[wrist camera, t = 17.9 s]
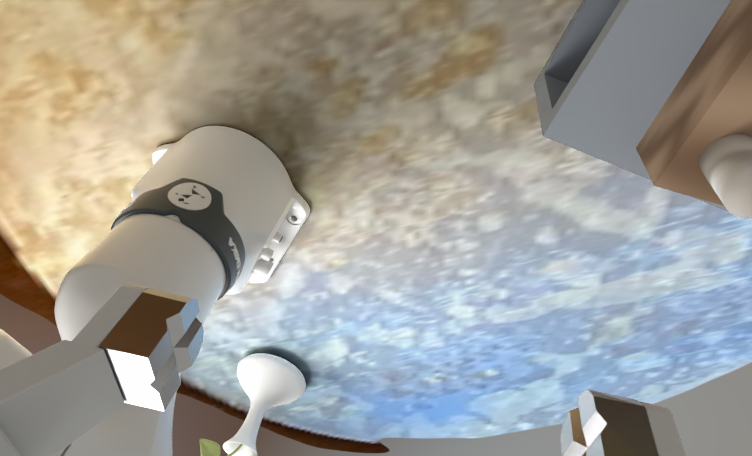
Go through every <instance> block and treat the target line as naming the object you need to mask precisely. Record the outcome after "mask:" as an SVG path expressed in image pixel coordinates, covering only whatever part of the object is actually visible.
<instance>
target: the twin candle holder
mask: <svg viewBox="0 0 752 456" xmlns="http://www.w3.org/2000/svg"><path fill="white" fill-rule="evenodd" d="M636 150H637V152H638V154H639V156H640V158H641V160H642V162H643V164H644V166H645V168H646V170H647V172H648V174H649V176H650V178H651V180H652V182H653V185H654V186H657V187H661V188H664V189H668V190H671V191H674V192H678V193H681V194H685V195H688V196H692V197H695V198H698V199H702V200H705V201H709V202H712V203H716V204H719V205H722V206H725V207H726V209H727V210H728V211H729V212H730V213H731V214H733V215H735V216H737V217H741V218H752V0H731V1H730V3H729V4H728V6H727V8H726V9H725V11H724V12H723V14H722V15H721V17H720V18H719V20H718V21H717V23H716V25H715V26H714V28H713V29H712V31H711V32H710V34H709V35H708V37H707V38H706V40H705V42H704V43H703V45H702V46H701V48H700V49H699V51H698V52H697V54H696V56H695V57H694V59H693V60H692V62H691V63H690V65H689V66H688V68H687V69H686V71H685V73H684V74H683V76H682V77H681V79H680V80H679V82H678V83H677V85H676V87H675V88H674V90H673V91H672V93H671V94H670V96H669V97H668V99H667V100H666V102H665V104H664V105H663V107H662V108H661V110H660V111H659V113H658V114H657V116H656V117H655V119H654V121H653V122H652V124H651V125H650V127H649V128H648V130H647V131H646V133H645V135H644V136H643V138H642V139H641V141H640V142H639V144H638V145H637V147H636Z"/></svg>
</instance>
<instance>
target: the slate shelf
mask: <svg viewBox="0 0 752 456" xmlns="http://www.w3.org/2000/svg"><path fill="white" fill-rule="evenodd" d="M730 1H731V0H583V1H582V3H581V4H580V6H579V8H578V10H577V11H576V13H575V15H574V17H573V18H572V20H571V22H570V24H569V25H568V27H567V29H566V30H565V32H564V34H563V36H562V37H561V39H560V41H559V43H558V44H557V46H556V48H555V49H554V51H553V53H552V55H551V56H550V58H549V60H548V62H547V63H546V65H545V67H544V69H543V70H542V72H541V74H540V75H539V77H538V79H537V81H536V82H535V84H534V87H535V93H536V99H537V105H538V110H539V116H540V122H541V128H542V133H543V136H545V137H547V138H550V139H552V140H555V141H557V142H559V143H562V144H564V145H567V146H569V147H572V148H574V149H577V150H579V151H581V152H584V153H586V154H589V155H591V156H594V157H596V158H599V159H601V160H603V161H606V162H608V163H611V164H613V165H616V166H618V167H620V168H623V169H625V170H628V171H630V172H633V173H635V174H638V175H640V176H642V177H645V178H647V179H650V180H651V178H650V176H649V174H648V172H647V170H646V168H645V166H644V164H643V162H642V160H641V158H640V156H639V154H638V152H637V150H636V147H637V145H638V144H639V142H640V141H641V139H642V138H643V136H644V135H645V133H646V131H647V130H648V128H649V127H650V125H651V124H652V122H653V121H654V119H655V117H656V116H657V114H658V113H659V111H660V110H661V108H662V107H663V105H664V104H665V102H666V100H667V99H668V97H669V96H670V94H671V93H672V91H673V90H674V88H675V87H676V85H677V83H678V82H679V80H680V79H681V77H682V76H683V74H684V73H685V71H686V69H687V68H688V66H689V65H690V63H691V62H692V60H693V59H694V57H695V56H696V54H697V52H698V51H699V49H700V48H701V46H702V45H703V43H704V42H705V40H706V38H707V37H708V35H709V34H710V32H711V31H712V29H713V28H714V26H715V25H716V23H717V21H718V20H719V18H720V17H721V15H722V14H723V12H724V11H725V9H726V8H727V6H728V4H729V3H730ZM691 197H692V196H691ZM694 198H695V197H694ZM696 199H698V198H696ZM699 200H701V201H704V202H706V203H708V204H711V205H713V206H716V207H718V208H721V209H723V210H725V211H728V210H727V209H726V207H725V206H722V205H719V204H716V203H712V202H709V201H705V200H702V199H699ZM728 212H729V211H728Z"/></svg>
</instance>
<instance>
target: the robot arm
mask: <svg viewBox="0 0 752 456" xmlns="http://www.w3.org/2000/svg"><path fill="white" fill-rule="evenodd" d="M152 161H153V166H152V168H151V169H150V170H149V171H148V172H147V173H146V174H145V176H144V177H143V178H142V179H141V180H140V181H139V182H138V184H137V185H136V186H135V187H134V188H133V190H132V192H131V196H132V197H133V202H131V203H129V204H128V205H127V206H126V207H125V208H124V210H123V211H122V212H121V214H120V215H119V217H118V218H117V219H116V220H115V221H114V223H113V225H112V227H111V231H110V232H109V233H108V234H107V235H106V236H105V237H104V238H103V239H102V240H101V241H100V242H99V243H98V244H97V245H96V246H95V247H94V248H93V249H91V250H90V251H89V252H88V253H87V254H86V255H85V256H84V257H83V258H82V259H81V260H80V261H79V262H78V263H77V264H76V265H75V266H74V267H73V268H72V269H71V270H70V271H69V272H68V273H67V274H66V276H65V277H64V279H63V281H62V283H61V285H60V288H59V291H58V294H57V297H56V302H55V319H56V323H57V327H58V330H59V333H60V336H61V340H62V341H61V342H59V343H57V344H55V345H53V346H51V347H48V348H46V349H44V350H42V351H40V352H38V353H36V354H32V353H31V352H29V351H28V350H27V349H26V348H24V347H23V346H22V345H21V344H19V343H18V342H17V341H16V340H14V339H13V338H12V337H11V336H9V335H8V334H7V333H6V332H4V331H3V330H2V329H0V456H173V454H172V425H173V412H174V405H175V398H176V392H177V389H178V388H179V386H180V384H181V381H180V374H181V372H182V371H184V370H185V369H187V368H189V367H191V366H192V364H193V363H194V361H195V359H196V357H197V356H198V353H199V350H200V347H201V345H202V342H203V326H202V324H203V323H204V321H205V319H206V317H207V316H208V314H209V312H210V311H211V309H212V307H213V305H214V304H215V302H216V301H217V300H219V299H220V298H222V297H223V296H224V295H233V294H238V293H241V292H242V291H243V289H244V287H245V286H246V284H247V283H265V282H266V281H267V280H268V279H269V278H270V276H271V275H272V273H273V272H274V270H275V268H276V267H277V265H278V264H279V262H280V260H281V259H282V257H283V256H284V254H285V252H286V251H287V249H288V248H289V246H290V244H291V243H292V241H293V240H294V238H295V236H296V235H297V233H298V232H299V230H300V228H301V227H302V225H303V223H304V222H305V220H306V219H307V217H308V215H309V214H310V207H309V205H308V204H307V202H306V201H305V200H304V199H303V198H302V196H301V195H300V194H299V193H298V192H297V191H296V190H295V188H294V187H293V185H292V182H291V180H290V177H289V175H288V173H287V171H286V169H285V167H284V166H283V164H282V163H281V161H280V160H279V159H278V157H277V156H276V155H275V154H274V153H273V152H272V151H271V150H270V149H269V148H268V147H267V146H266V145H264V144H263V143H262V142H260V141H259V140H257V139H256V138H254V137H252V136H251V135H249V134H247V133H245V132H242V131H240V130H237V129H234V128H230V127H224V126H205V127H201V128H198V129H195V130H193V131H191V132H189V133H188V134H186V135H185V136H184V137H183V138H182V139H181V140H179V141H178V142H176V143H172V144H166V145H162V146H159V147H158V148H156V150H155V151H154V152H153V154H152ZM294 216H296V217H297V218H295V217H294ZM578 403H579V408H576V409H574V410H571V411H569V413H568V415H567V416H566V418H565V420H564V423H563V427H562V431H561V452H562V456H686V454H685V451H684V448H683V445H682V442H681V439H680V436H679V433H678V430H677V427H676V424H675V421H674V418H673V414H672V413H671V412H670V411H669V409H668V408H666V407H662V406H658V405H653V404H649V403H644V402H639V401H637V400H634V399H630V398H625V397H620V396H616V395H611V394H607V393H602V392H597V391H593V390H586V391H583V392H582V394H581V395H580V396H579V398H578Z"/></svg>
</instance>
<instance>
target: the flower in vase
mask: <svg viewBox="0 0 752 456" xmlns="http://www.w3.org/2000/svg"><path fill="white" fill-rule="evenodd" d="M237 377H238V379H239V382H240V384H241V386H242V388H243V389H244V391H245V392H246V393H247V395H248V396H249V398H250V400H251V407H250V410H249V413H248V415H247V417H246V419H245V421H244V423H243V425H242V426H241V428H240V430H239V431H238V433H237V434H236V435H235V436H234V437H233V438H231V439H230V440H228V441H227V442H225V443H224V445H223V448H224V450H225V451H226V452H227V453H228V454H229V455H227V456H257V451H256V437H257V433H258V429H259V426H260V423H261V420H262V418H263V416H264V414H265V413H266V411H267V410H268V409H269V408H271V407H274V406H279V405H284V404H288V403H290V402H293V401H295V400H297V399H299V398H300V397H301V396H302V394H303V393H304V392H305V390H306V382H305V379H304V376H303V374H302V373H301V371H300V370H299V369H298V368H297V367H296V366H295V365H293V364H292V363H290V362H289V361H287V360H285V359H283V358H281V357H278V356H275V355H271V354H265V353H256V354H251V355H249V356H247V357H245V358H243V359H242V360H240V362H239V363H238V366H237ZM200 450H201V456H220V451H221V450H220V445H219V444H218V443H216V442H214V441H210V440H206V439H200Z"/></svg>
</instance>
